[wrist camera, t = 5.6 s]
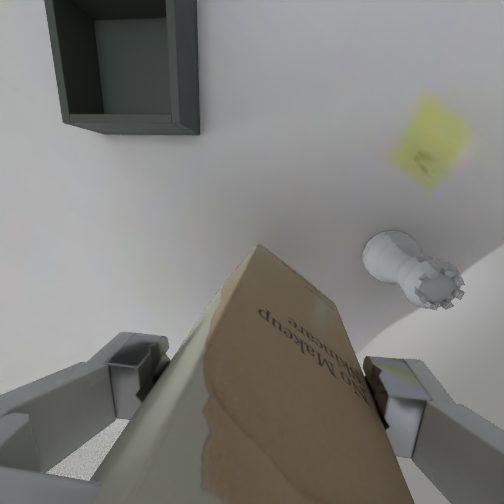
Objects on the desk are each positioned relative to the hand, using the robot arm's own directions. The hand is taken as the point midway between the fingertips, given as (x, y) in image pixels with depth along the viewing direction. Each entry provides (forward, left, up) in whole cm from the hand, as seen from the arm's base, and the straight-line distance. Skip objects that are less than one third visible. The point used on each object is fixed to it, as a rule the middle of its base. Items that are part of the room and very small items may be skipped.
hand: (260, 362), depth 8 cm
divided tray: (+11, -18, -16) cm, 26 cm away
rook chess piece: (-10, 0, -16) cm, 19 cm away
